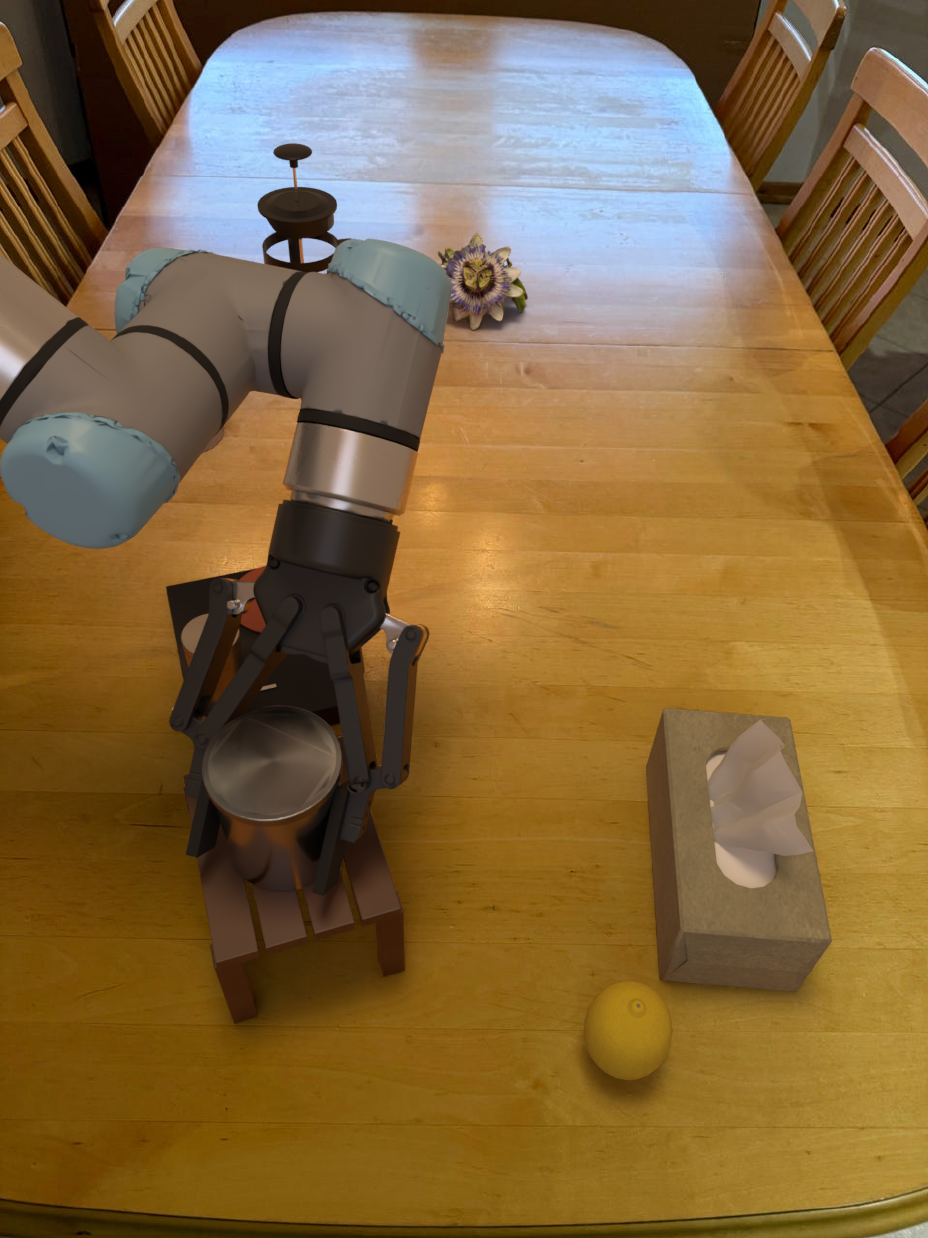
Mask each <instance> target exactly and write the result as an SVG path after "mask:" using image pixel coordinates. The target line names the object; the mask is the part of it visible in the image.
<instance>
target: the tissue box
mask: <svg viewBox="0 0 928 1238" xmlns="http://www.w3.org/2000/svg"><path fill="white" fill-rule="evenodd" d="M792 726H793V725H792V721H791V719H790V718H789V717H787V716H774V715H773V716H772V715H761V714H760V715H759V714H749V713H748V714H747V713H735V712H722V711H709V710H696V709H684V708H671V707H665V708H663V709H662V713H661V715H660V718H659V722H658V725H657V728H656V731H655V735H654V739H653V742H652V745H651V748H650V752H649V756H648V758H647V761H646V766H645V769H646V785H647V800H648V801H647V802H648V818H649V819H648V820H649V833H650V848H651V849H650V850H651V863H652V865H651V866H652V879H653V881H652V882H653V895H654V896H653V899H654V913H655V929H656V943H657V960H658V961H657V962H658V975H659V978H660V979H661V980H662V981H666V982H679V983H689V984H690V983H691V984H702V985H712V986H713V985H714V986H725V987H736V988H750V989H760V990H761V989H762V990H771V991H782V992H783V991H784V992H793V993H794V992H795V993H796V992H798V990H799V989H801V987H802V985H803V983H804V982H805V981H806V979H807V978H808V977H809V975H810V974H811V972H812V971H813V969H814V968H815V966H816V965H817V963H819V961H820V959H821V958H822V956H823V955H824V954H825V952H826V951H827V949H828V948H829V946H830V945H831V944H832V942H833V938H832V933H831V929H830V928H831V926H830V921H829V917H828V911H827V906H826V901H825V896H824V891H823V884H822V879H821V874H820V868H819V864H818V858H817V853H816V848H815V843H814V838H813V832H812V827H811V821H810V816H809V811H808V806H807V802H806V801H807V800H806V795H805V789H804V784H803V779H802V773H801V769H800V763H799V759H798V752H797V747H796V741H795V737H794V732H793V727H792Z"/></svg>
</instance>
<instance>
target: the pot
mask: <svg viewBox="0 0 928 1238" xmlns="http://www.w3.org/2000/svg"><path fill="white" fill-rule="evenodd" d="M338 737H339V736H338V734H337V733H336V731H335V730H334V728H333V727H332V726H330V725H329V724H328V723H326V722H325V721H324V720H323V719H322V718H320V717H319V716H317V715H315V714H313V713H311V712H309V711H307V710H304V709H301V708H296V707H291V706H268V707H262V708H258V709H254V710H251V711H248V712H246V713H243V714H241V715H240V716H238V717H236V718H234V719H233V720H231V721H230V722H228V723H227V724H226V725H225V726H223V727H222V728H221V729H220V730H219V731H218V732H217V733H216V735H215V736H214V737H213V739H212V740H211V742H210V743H209V745H208V747H207V749H206V752H205V755H204V758H203V763H202V776H203V781H204V785H205V788H206V791H207V794H208V796H209V798H210V799H211V801H212V802H213V804H214V805H215V806H216V808H217V812H218V815H219V819H220V823H221V826H222V830H223V834H224V837H225V841H226V844H227V848H228V852H229V855H230V859H231V862H232V864H233V866H234V868H235V869H236V871H237V872H238V873H239V874H240V875H241V876H242V877H243V878H244V879H245V882H248V883H249V884H251V885H252V884H253V885H254V886H257V887H259V888H262V889H266V890H270V891H293V890H296V891H297V890H300V889H301V890H302V888H304V887H307V886H309V885H311V884H313V883H314V882H315V877H316V873H317V868H318V864H319V859H320V855H321V850H322V846H323V842H324V837H325V833H326V828H327V824H328V819H329V815H330V811H331V806H332V802H333V797H334V793H335V789H336V788H337V787H338V786H340V778H341V775H342V770H343V755H342V748H341V744H340V741H339V739H338Z"/></svg>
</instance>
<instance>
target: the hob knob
mask: <svg viewBox="0 0 928 1238" xmlns="http://www.w3.org/2000/svg"><path fill="white" fill-rule="evenodd" d="M207 617H208V614H204V615H201V616H198V617H196V618H194V619H192V620H191V621H190V622H189V623H188V624H187V625H186V626H185V627H184V629H183V631H182V634H181V641H182V645H183V649H184V653H185V657H186V660H187V664H188V668H189V665H190V663H191V660H192V657H193V655H194V652H195V649H196V647H197V644H198V641H199V639H200V636H201V633H202V631H203V628H204V625H205V623H206V620H207ZM244 661H245V657H244V652H243V647H242V642H241V637H240V631H239V629H238V632H237V634H236V637H235V640H234V642H233V645H232V647H231V650H230V653H229V655H228V658H227V661H226V663H225V666H224V669H223V671H222V674H221V677H220V679H219V682H218V684H217V687H216V690H215V692H214V695H213V698H212V700H211V703H210V706H209V708H208V711H207V714H206V715H208V714H209V713H210V711H211V710H212V708H213V707H214V705H215V704H216V702H217V701H218V699H219V698H220V697H221V695H222V694H223V692H224V691H225V689H226V688H227V686H228V685H229V683H230V682H231V680H232V679H233V677H234V676H235V674H236V673H237V672H238V670H239V669H240V667H241V666H242V664H243V663H244Z"/></svg>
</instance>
